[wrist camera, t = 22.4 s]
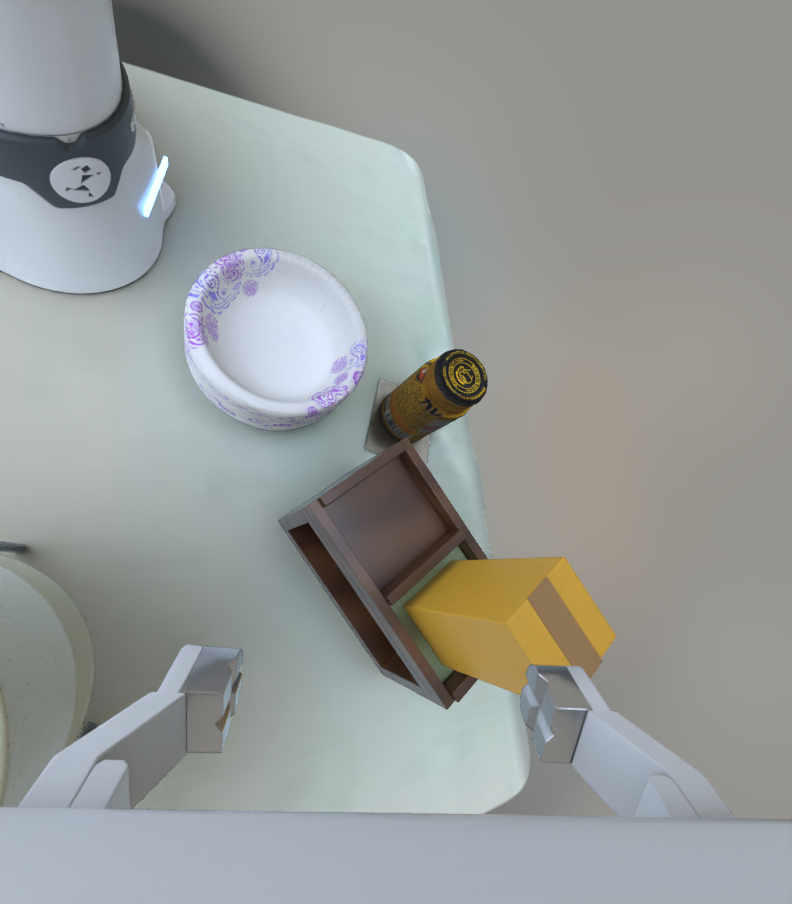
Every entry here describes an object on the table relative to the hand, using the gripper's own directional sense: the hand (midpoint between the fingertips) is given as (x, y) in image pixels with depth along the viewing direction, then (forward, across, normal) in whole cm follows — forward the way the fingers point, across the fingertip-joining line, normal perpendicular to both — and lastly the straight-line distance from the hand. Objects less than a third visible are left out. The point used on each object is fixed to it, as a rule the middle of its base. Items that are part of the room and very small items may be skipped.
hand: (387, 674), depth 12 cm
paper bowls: (+35, +10, -4) cm, 36 cm away
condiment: (+37, -4, +1) cm, 37 cm away
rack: (+28, -1, +13) cm, 31 cm away
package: (+18, -7, +11) cm, 23 cm away
